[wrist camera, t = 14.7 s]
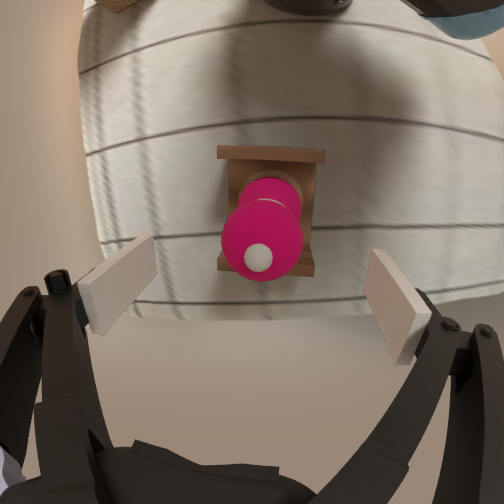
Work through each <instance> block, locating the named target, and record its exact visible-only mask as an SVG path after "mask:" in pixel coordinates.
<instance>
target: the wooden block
mask: <svg viewBox="0 0 504 504" xmlns="http://www.w3.org/2000/svg"><path fill="white" fill-rule="evenodd" d="M95 1H96V2H98V3H100V4H102V5H103V6H105V7H107V8H108V9H110V10H112V11H113V12H115V13H119V12H120V11H122V10H123V9H125V8H127V7H128V6H130V5H132V4H134V3H135V2H137V1H139V0H95Z"/></svg>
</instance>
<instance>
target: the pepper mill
mask: <svg viewBox="0 0 504 504" xmlns="http://www.w3.org/2000/svg"><path fill="white" fill-rule="evenodd" d="M300 217H301V200H300V197H299V195H298V193H297V191H296V189H295V188H294V187H293V186H292V185H291V184H290V183H288V182H287V181H285V180H283V179H281V178H278V177H273V176H266V177H261V178H258V179H256V180H254V181H252V182H251V183H249V184H248V185H247V186H246V187H245V189H244V190H243V192H242V193H241V196H240V198H239V201H238V208H237V209H236V210H235V211H234V212H233V213H232V214H231V215H230V216H229V217H228V219H227V221H226V223H225V225H224V228H223V232H222V238H221V243H222V249H223V253H224V256H225V258H226V260H227V262H228V263H229V265H230V266H231V267H232V268H233V270H235V271H236V272H237V273H239V274H240V275H241V276H243V277H245V278H247V279H250V280H253V281H261V282H262V281H270V280H274V279H277V278H280V277H282V276H283V275H285V274H287V273H288V272H289V271H290V270H291V269H292V268H293V267H294V266H295V265H296V263H297V261H298V259H299V258H300V255H301V252H302V247H303V233H302V229H301V227H300V224H299V219H300Z"/></svg>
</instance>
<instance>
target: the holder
mask: <svg viewBox="0 0 504 504" xmlns="http://www.w3.org/2000/svg"><path fill="white" fill-rule="evenodd" d="M217 159H230V162H229V216H230V215H231V214H232V213H233V212H234V211H235V210H236V209H237V208H238V201H239V198H240V196H241V193H242V192H243V190H244V189H245V187H246V186H247V185H248V184H249V183H251V182H252V181H254V180H256V179H258V178H261V177H266V176H273V177H278V178H281V179H283V180H285V181H287V182H288V183H290V184H291V185H292V186H293V187H294V188H295V189H296V191H297V193H298V195H299V197H300V200H301V217H300V219H299V224H300V227H301V229H302V233H303V247H302V252H301V255H300V258H299V259H298V261H297V263H296V265H295V266H294V267H293V268H292V269H291V270H290V271H289V272H288V273H287V274H285V275H292V276H307V277H313V275H314V268H315V265H314V261H313V257H312V253H311V249H310V245H309V244H310V234H311V224H312V213H313V201H314V188H315V173H316V163H321V164H324V162H325V150H315V149H303V148H289V147H271V146H217ZM217 265H218V270H222V271H235V270H233V268H232V267H231V266H230V265H229V263H228V262H227V260H226V258H225V256H224V253H223V250H222V252H221V254H220V255H219V257H218V259H217ZM235 272H236V271H235Z"/></svg>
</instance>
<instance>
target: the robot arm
mask: <svg viewBox="0 0 504 504" xmlns="http://www.w3.org/2000/svg"><path fill="white" fill-rule="evenodd" d="M264 1H266V2H267V3H269V4H270V5H272V6H274V7H276V8H278V9H281V10H283V11H287V12H290V13H294V14H300V15H311V16H315V15H326V14H331V13H334V12H337V11H340V10H342V9H343V8H345V7H346V6H347V5H349V3H350V2H351V1H352V0H264ZM400 1H402V2H403V3H405V4H406V5H407V6H409V7H410V8H412V9H413V10H414V11H416V12H417V13H418V15H419V16H420V17H422V18H424V19H426V20H428V21H430V22H431V23H432V24H433V25H435V26H436V27H437V28H439V29H440V30H441V31H442V32H444V33H445V34H446V35H448V36H450V37H452V38H455V39H461V40H472V39H477V38H481V37H484V36H487V35H489V34H492V33H494V32H496V31H497V30H499V29H501V28H503V27H504V0H400ZM156 275H157V267H156V259H155V250H154V240H153V234H141V235H140V236H138V237H137V238H136V239H134V240H133V241H131V242H130V243H129V244H127V245H126V246H124V247H123V248H122V249H120V250H119V251H118V252H116V253H115V254H113V255H112V256H111V257H109V258H108V259H107V260H105V261H104V262H103V263H101V264H100V265H99V266H98V267H96V268H94V269H92V270H91V271H90V272H89V273H88V274H86V275H85V276H84V277H82V278H81V279H80V280H78V281H77V282H76V283H75V284H73V285H71V281H70V278H69V274H68V271H67V270H64V269H63V270H62V269H60V270H55V271H52V272H50V273H48V274H47V275H46V276H45V278H44V280H45V284H46V287H47V290H48V293H49V295H41V293H40V290H39V288H38V287H37V286H31V287H30V286H29V287H26V288H24V290H22V291H21V292H20V293H19V294H18V296H17V297H16V299H15V300H14V302H13V303H12V305H11V306H10V308H9V309H8V311H7V313H6V314H5V316H4V317H3V319H2V321H1V323H0V504H387V503H388V502H389V500H390V499H391V497H392V496H393V495H394V493H395V492H396V490H397V489H398V487H399V486H400V484H401V482H402V481H403V479H404V478H405V476H406V474H407V472H408V470H409V466H407V465H408V462H409V461H410V459H411V457H412V455H413V454H414V452H415V450H416V448H417V446H418V444H419V442H420V441H421V439H422V437H423V434H424V433H425V431H426V428H427V426H428V424H429V422H430V420H431V417H432V416H433V413H434V411H435V409H436V406H437V403H438V401H439V399H440V396H441V394H442V391H443V389H444V386H445V383H446V380H447V378H448V375H451V392H450V409H449V419H448V429H447V436H446V443H445V450H444V456H443V461H442V466H441V471H440V476H439V479H438V484H437V487H436V491H435V495H434V499H433V502H432V504H504V360H503V355H502V351H501V347H500V343H499V339H498V336H497V334H496V332H495V331H494V330H493V328H492V327H490V326H489V325H485V324H477V325H476V326H475V328H474V330H473V332H472V333H470V332H465V331H461V327H460V325H459V324H458V323H457V322H456V321H454V320H453V319H451V318H447V317H442V316H441V314H440V313H439V312H438V310H437V309H436V308H435V306H434V305H433V303H432V302H431V301H430V300H429V298H428V297H427V296H426V294H425V293H424V292H422V291H421V290H419V289H418V288H414V287H413V286H412V285H411V283H410V282H409V281H408V279H407V278H406V277H405V275H404V274H403V273H402V272H401V270H400V269H399V268H398V267H397V265H396V264H395V263H394V262H393V260H392V259H391V258H390V257H389V255H388V254H387V253H386V252H385V251H384V250H382V249H372V252H371V257H370V262H369V267H368V272H367V276H366V281H365V285H364V290H363V291H364V293H365V295H366V297H367V299H368V302H369V304H370V306H371V308H372V311H373V313H374V315H375V317H376V320H377V322H378V324H379V327H380V329H381V332H382V334H383V336H384V339H385V341H386V344H387V346H388V349H389V351H390V354H391V356H392V359H393V362H394V364H395V365H409V364H410V363H411V361H412V358H413V356H414V354H415V356H416V358H417V361H416V363H415V364H414V366H413V368H412V370H411V372H410V374H409V375H408V377H407V379H406V381H405V382H404V384H403V386H402V388H401V389H400V391H399V393H398V394H397V396H396V398H395V399H394V401H393V402H392V404H391V405H390V407H389V408H388V410H387V411H386V413H385V414H384V416H383V417H382V419H381V420H380V422H379V423H378V424H377V426H376V427H375V428H374V430H373V431H372V433H371V434H370V435H369V437H368V438H367V439H366V441H365V442H364V443H363V444H362V445H361V446H360V447H359V449H358V450H357V451H356V452H355V454H354V455H353V456H352V457H351V459H350V460H349V461H348V462H347V463H346V464H345V466H344V467H343V468H342V469H341V470H340V471H339V472H338V474H337V475H336V476H335V477H334V478H333V479H332V480H331V481H330V482H329V483H328V484H327V485H326V486H325V487H324V488H323V489H322V490H321V491H320V492H319V493H318V494H315V493H314V492H313V491H312V490H310V489H309V488H308V487H306V486H305V485H303V484H301V483H299V482H297V481H296V480H293V479H290V478H288V477H285V476H281V475H279V467H274V466H260V465H250V464H231V465H205V466H204V465H199V464H196V463H194V462H192V461H190V460H188V459H186V458H183V457H181V456H179V455H178V454H175V453H174V452H171V451H170V450H168V449H165V448H161V447H158V446H154V445H151V444H148V443H144V442H141V441H139V440H135V441H134V443H133V445H132V447H115V448H114V447H113V445H112V442H111V440H110V437H109V434H108V430H107V427H106V424H105V420H104V417H103V414H102V409H101V405H100V402H99V398H98V393H97V389H96V384H95V379H94V374H93V369H92V365H91V358H90V353H89V346H88V338H87V332H86V329H85V326H86V325H87V324H88V323H89V325H90V327H91V330H92V332H93V333H95V334H99V335H103V336H104V335H105V334H106V333H107V332H108V331H109V329H110V328H111V327H112V326H113V325H114V323H115V322H116V321H117V320H118V319H119V318H120V316H121V315H122V314H123V313H124V312H125V311H126V309H127V308H128V307H129V306H130V305H131V304H132V302H133V301H134V300H135V299H136V298H137V297H138V296H139V294H140V293H141V292H142V291H143V290H144V289H145V288H146V287H147V285H148V284H149V283H150V282H151V281H152V280H153V279H154V278H155V277H156ZM41 376H42V402H40V403H36V404H35V400H36V396H37V391H38V387H39V383H40V380H41ZM34 404H35V405H34ZM33 409H34V424H35V436H36V445H37V453H38V460H39V467H40V472H41V476H39V477H36V478H33V479H30V480H27V479H26V478H25V476H23V475H22V471H21V469H22V467H23V463H24V459H25V456H26V450H27V444H28V437H29V430H30V424H31V419H32V414H33Z"/></svg>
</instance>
